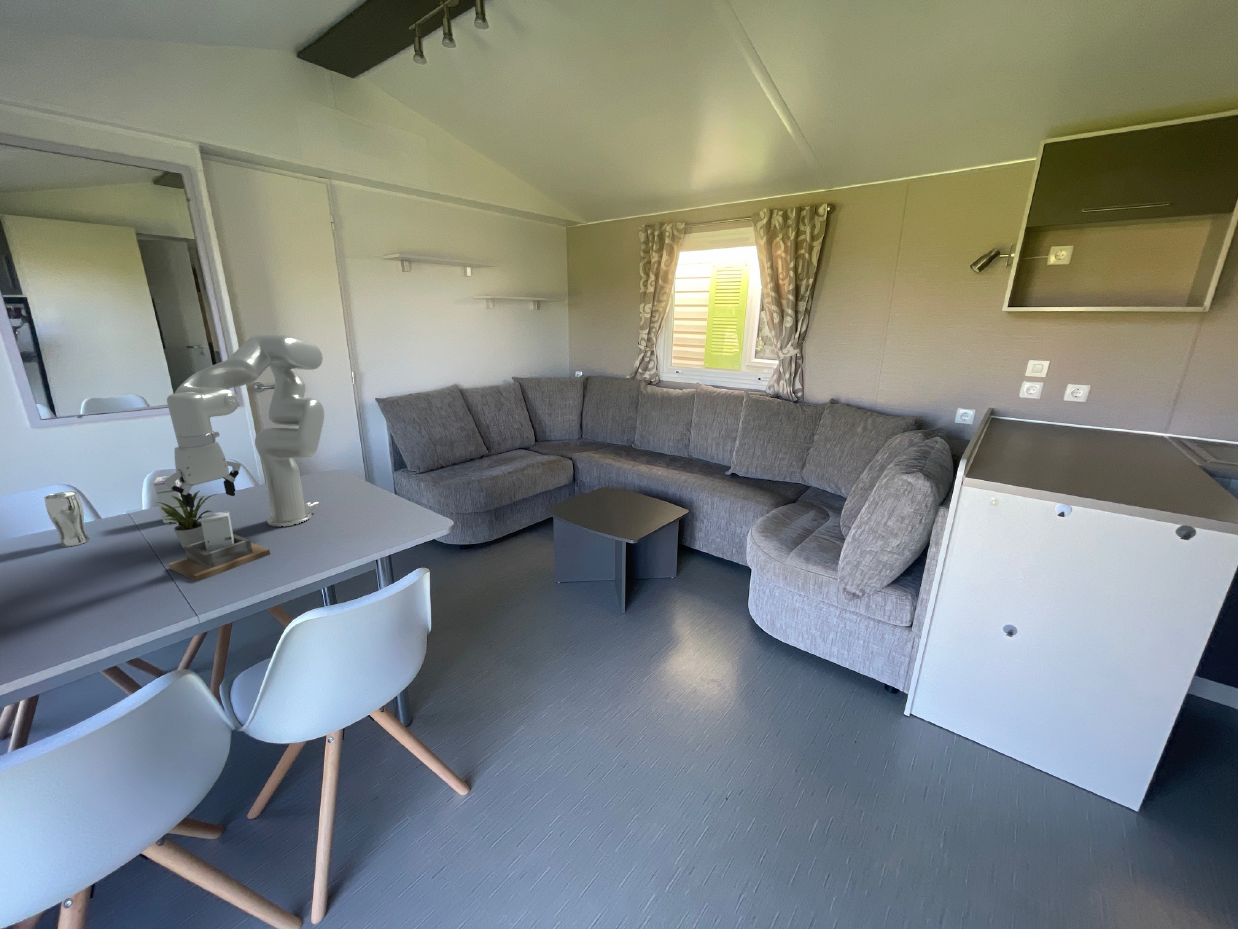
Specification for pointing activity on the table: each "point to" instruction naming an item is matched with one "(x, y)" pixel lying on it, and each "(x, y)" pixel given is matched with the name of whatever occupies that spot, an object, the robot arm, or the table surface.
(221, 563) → the socket
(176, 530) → the house plant
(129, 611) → the table surface
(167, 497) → the syrup box
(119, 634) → the table surface
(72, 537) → the beer glass
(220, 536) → the skincare box
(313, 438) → the robot arm
